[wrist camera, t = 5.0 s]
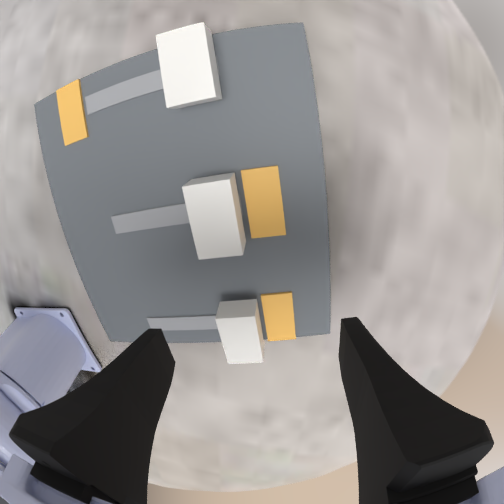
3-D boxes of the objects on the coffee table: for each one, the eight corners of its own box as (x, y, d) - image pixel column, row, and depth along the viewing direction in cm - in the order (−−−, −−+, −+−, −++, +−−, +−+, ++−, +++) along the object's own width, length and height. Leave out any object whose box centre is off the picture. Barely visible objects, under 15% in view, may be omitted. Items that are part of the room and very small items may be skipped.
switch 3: (231, 346, 21) (228, 363, 19) (219, 301, 19) (215, 318, 17) (264, 344, 20) (263, 362, 19) (256, 298, 19) (254, 316, 17)
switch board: (114, 333, 23) (109, 342, 22) (43, 103, 15) (32, 104, 14) (328, 324, 21) (330, 335, 20) (301, 27, 13) (303, 21, 11)
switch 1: (178, 108, 14) (166, 107, 12) (167, 42, 12) (155, 35, 10) (222, 99, 14) (215, 96, 12) (211, 31, 12) (203, 21, 10)
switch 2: (205, 245, 17) (198, 259, 16) (191, 179, 16) (181, 186, 14) (246, 241, 17) (243, 255, 15) (234, 172, 15) (229, 179, 14)
